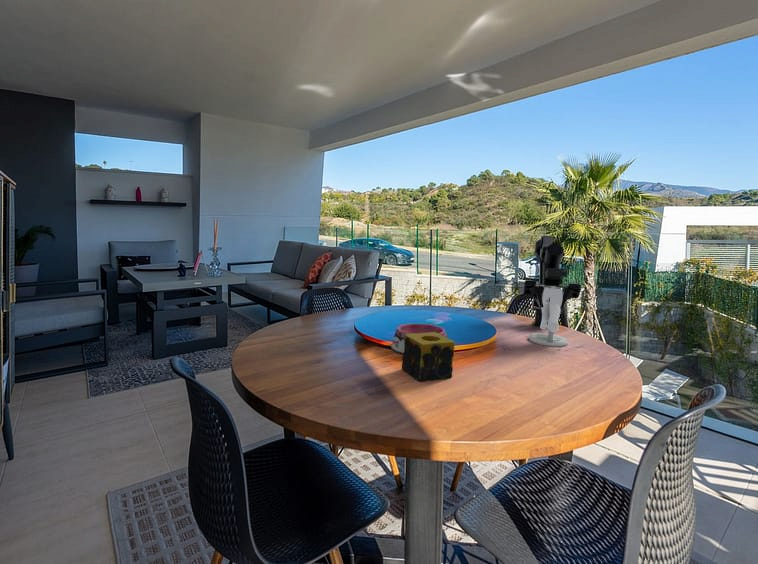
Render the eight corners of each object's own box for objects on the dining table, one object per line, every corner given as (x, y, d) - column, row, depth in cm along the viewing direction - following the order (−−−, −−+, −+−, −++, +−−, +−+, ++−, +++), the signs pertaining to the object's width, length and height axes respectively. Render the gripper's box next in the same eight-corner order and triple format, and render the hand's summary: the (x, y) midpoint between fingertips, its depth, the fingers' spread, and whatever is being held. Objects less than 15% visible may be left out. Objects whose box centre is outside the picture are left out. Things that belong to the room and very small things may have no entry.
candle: (400, 369, 114) (402, 333, 112) (433, 365, 118) (435, 331, 116) (418, 383, 104) (420, 344, 103) (453, 378, 108) (455, 341, 107)
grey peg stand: (527, 334, 156) (528, 322, 155) (565, 338, 152) (566, 326, 152) (529, 343, 144) (530, 330, 143) (570, 348, 140) (572, 334, 139)
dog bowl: (383, 342, 139) (384, 322, 138) (433, 339, 145) (434, 320, 144) (403, 360, 122) (404, 337, 121) (459, 356, 128) (461, 334, 127)
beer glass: (564, 330, 146) (568, 288, 144) (550, 332, 143) (554, 289, 141) (547, 325, 152) (551, 285, 150) (534, 327, 149) (538, 286, 147)
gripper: (526, 257, 150) (525, 292, 141) (583, 260, 145) (585, 297, 136) (523, 276, 159) (522, 310, 150) (577, 280, 154) (579, 315, 145)
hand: (551, 308), depth 145 cm, fingers closed on beer glass, 7 cm apart
